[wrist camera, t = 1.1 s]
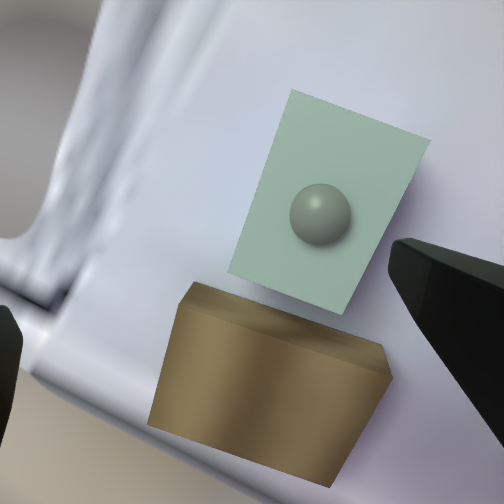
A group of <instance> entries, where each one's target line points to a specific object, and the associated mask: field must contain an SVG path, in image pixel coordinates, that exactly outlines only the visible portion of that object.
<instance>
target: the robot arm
mask: <svg viewBox="0 0 504 504" xmlns="http://www.w3.org/2000/svg"><path fill="white" fill-rule="evenodd" d="M388 273H389V276H390V278H391V280H392V282H393V284H394V285H395V287H396V289H397V291H398V293H399V294H400V296H401V298H402V300H403V302H404V303H405V305H406V307H407V309H408V311H409V312H410V314H411V316H412V318H413V319H414V321H415V323H416V324H417V326H418V327H419V329H420V330H421V332H422V333H423V335H424V336H425V337H426V339H427V340H428V342H429V343H430V344H431V346H432V347H433V349H434V350H435V351H436V353H437V354H438V356H439V357H440V359H441V360H442V361H443V363H444V364H445V366H446V367H447V368H448V370H449V371H450V373H451V374H452V375H453V377H454V378H455V380H456V381H457V382H458V384H459V385H460V387H461V388H462V390H463V391H464V392H465V394H466V395H467V397H468V398H469V399H470V401H471V402H472V404H473V405H474V406H475V408H476V409H477V411H478V412H479V414H480V415H481V416H482V418H483V419H484V421H485V422H486V423H487V425H488V426H489V428H490V429H491V430H492V432H493V433H494V435H495V436H496V437H497V439H498V440H499V442H500V443H501V445H502V446H503V447H504V266H502V265H499V264H496V263H492V262H489V261H486V260H483V259H479V258H476V257H473V256H469V255H466V254H463V253H459V252H456V251H453V250H450V249H446V248H443V247H440V246H436V245H433V244H430V243H426V242H423V241H420V240H416V239H413V238H405V239H399V240H395V241H394V242H393V244H392V247H391V253H390V259H389V264H388ZM22 347H23V336H22V332H21V330H20V328H19V326H18V324H17V323H16V321H15V319H14V317H13V315H12V313H11V311H10V309H9V308H8V307H7V306H5V305H0V446H1V443H2V439H3V435H4V432H5V429H6V426H7V422H8V419H9V416H10V412H11V408H12V403H13V399H14V393H15V387H16V381H17V375H18V370H19V364H20V358H21V352H22Z"/></svg>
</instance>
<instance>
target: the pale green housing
mask: <svg viewBox="0 0 504 504" xmlns="http://www.w3.org/2000/svg"><path fill="white" fill-rule="evenodd" d="M430 141H431V140H429V139H426V138H424V137H421V136H418V135H416V134H413V133H410V132H407V131H405V130H402V129H399V128H397V127H394V126H391V125H388V124H386V123H383V122H380V121H378V120H375V119H372V118H369V117H367V116H364V115H361V114H359V113H356V112H353V111H351V110H348V109H345V108H342V107H340V106H337V105H334V104H332V103H329V102H326V101H323V100H321V99H318V98H315V97H313V96H310V95H307V94H304V93H302V92H299V91H296V90H294V89H292V90H291V93H290V95H289V98H288V101H287V104H286V107H285V110H284V113H283V115H282V118H281V121H280V124H279V127H278V130H277V133H276V135H275V138H274V141H273V144H272V147H271V150H270V153H269V155H268V158H267V161H266V164H265V167H264V170H263V173H262V175H261V178H260V181H259V184H258V187H257V190H256V193H255V195H254V198H253V201H252V204H251V207H250V210H249V213H248V215H247V218H246V221H245V224H244V227H243V230H242V233H241V235H240V238H239V241H238V244H237V247H236V250H235V253H234V255H233V258H232V261H231V264H230V267H229V270H228V273H230V274H233V275H235V276H238V277H241V278H243V279H246V280H249V281H251V282H254V283H257V284H259V285H262V286H265V287H267V288H270V289H273V290H275V291H278V292H281V293H283V294H286V295H289V296H292V297H294V298H297V299H300V300H302V301H305V302H308V303H310V304H313V305H316V306H318V307H321V308H324V309H326V310H329V311H332V312H334V313H337V314H340V315H342V314H343V312H344V310H345V308H346V306H347V304H348V302H349V300H350V298H351V297H352V295H353V293H354V291H355V289H356V287H357V285H358V283H359V281H360V279H361V277H362V275H363V273H364V271H365V269H366V267H367V265H368V263H369V261H370V259H371V257H372V255H373V253H374V251H375V249H376V247H377V245H378V243H379V241H380V240H381V238H382V236H383V234H384V232H385V230H386V228H387V226H388V224H389V222H390V220H391V218H392V216H393V214H394V212H395V210H396V208H397V206H398V204H399V202H400V200H401V198H402V196H403V194H404V192H405V190H406V188H407V186H408V185H409V183H410V181H411V179H412V177H413V175H414V173H415V171H416V169H417V167H418V165H419V163H420V161H421V159H422V157H423V155H424V153H425V151H426V149H427V147H428V145H429V143H430Z"/></svg>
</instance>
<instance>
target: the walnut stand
mask: <svg viewBox="0 0 504 504" xmlns="http://www.w3.org/2000/svg"><path fill="white" fill-rule="evenodd" d="M392 379H393V377H392V374H391V371H390V368H389V365H388V362H387V360H386V357H385V354H384V351H383V348H382V345H380V344H377V343H374V342H371V341H368V340H365V339H362V338H359V337H356V336H353V335H350V334H347V333H344V332H341V331H338V330H336V329H333V328H330V327H327V326H324V325H321V324H318V323H315V322H312V321H309V320H306V319H303V318H300V317H297V316H294V315H291V314H288V313H286V312H283V311H280V310H277V309H274V308H271V307H268V306H265V305H262V304H259V303H256V302H253V301H250V300H247V299H244V298H241V297H238V296H236V295H233V294H230V293H227V292H224V291H221V290H218V289H215V288H212V287H209V286H206V285H203V284H200V283H197V282H193V284H192V285H191V287H190V288H189V290H188V291H187V293H186V294H185V296H184V297H183V299H182V300H181V302H180V303H179V305H178V309H177V312H176V316H175V320H174V324H173V328H172V331H171V335H170V339H169V343H168V347H167V350H166V354H165V358H164V362H163V366H162V369H161V373H160V377H159V381H158V385H157V388H156V392H155V396H154V400H153V403H152V407H151V411H150V415H149V419H148V422H147V425H149V426H152V427H155V428H158V429H161V430H163V431H166V432H169V433H172V434H175V435H178V436H181V437H184V438H186V439H189V440H192V441H195V442H198V443H201V444H204V445H207V446H210V447H212V448H215V449H218V450H221V451H224V452H227V453H230V454H233V455H235V456H238V457H241V458H244V459H247V460H250V461H253V462H256V463H258V464H261V465H264V466H267V467H270V468H273V469H276V470H279V471H282V472H284V473H287V474H290V475H293V476H296V477H299V478H302V479H305V480H307V481H310V482H313V483H316V484H319V485H322V486H325V487H328V488H330V487H331V485H332V484H333V482H334V480H335V478H336V477H337V475H338V473H339V471H340V470H341V468H342V466H343V464H344V463H345V461H346V459H347V457H348V456H349V454H350V452H351V450H352V449H353V447H354V445H355V443H356V442H357V440H358V438H359V436H360V435H361V433H362V431H363V429H364V428H365V426H366V424H367V422H368V421H369V419H370V417H371V415H372V414H373V412H374V410H375V408H376V407H377V405H378V403H379V401H380V400H381V398H382V396H383V394H384V393H385V391H386V389H387V387H388V386H389V384H390V382H391V380H392Z"/></svg>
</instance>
